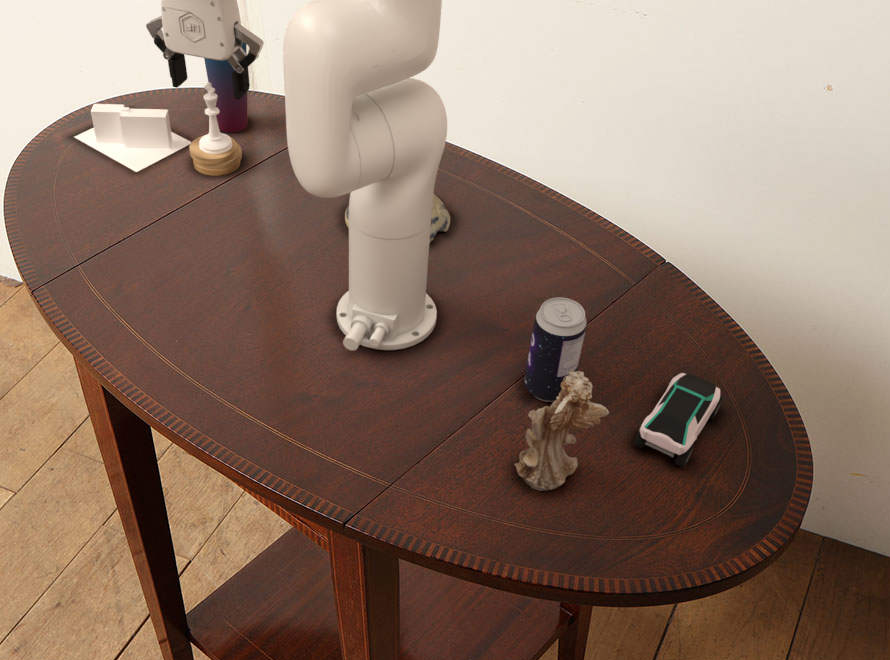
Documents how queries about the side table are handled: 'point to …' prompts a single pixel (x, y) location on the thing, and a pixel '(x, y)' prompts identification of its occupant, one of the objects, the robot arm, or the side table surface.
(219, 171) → the chip pile
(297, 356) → the side table surface
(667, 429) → the toy car
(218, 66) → the cup
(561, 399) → the figurine
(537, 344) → the beverage can
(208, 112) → the chess piece
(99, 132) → the napkin holder
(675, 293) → the side table surface
